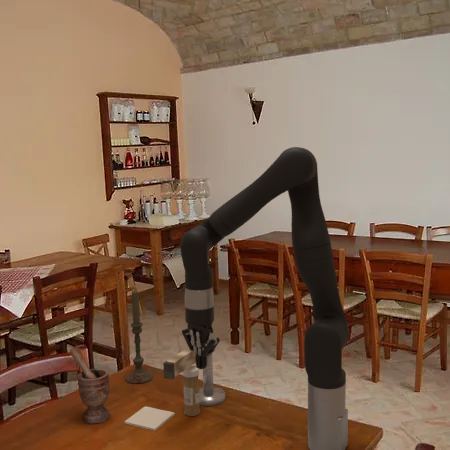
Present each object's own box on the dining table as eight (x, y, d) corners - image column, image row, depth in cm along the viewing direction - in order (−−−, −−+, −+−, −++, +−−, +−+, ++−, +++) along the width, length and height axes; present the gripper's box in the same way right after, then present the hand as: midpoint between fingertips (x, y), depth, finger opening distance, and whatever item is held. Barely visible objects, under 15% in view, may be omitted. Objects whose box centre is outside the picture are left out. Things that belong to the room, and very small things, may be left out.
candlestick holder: (120, 382, 186) (115, 292, 181) (132, 371, 194) (128, 285, 190) (146, 385, 183) (141, 294, 179) (157, 374, 192) (153, 286, 187)
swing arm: (204, 347, 173) (203, 334, 173) (217, 349, 171) (216, 336, 171) (161, 377, 152) (160, 362, 152) (175, 380, 150) (174, 364, 150)
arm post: (230, 394, 175) (229, 349, 173) (215, 408, 166) (214, 360, 164) (202, 389, 179) (200, 344, 177) (185, 402, 170) (184, 355, 168)
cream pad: (174, 414, 163) (174, 412, 163) (155, 430, 154) (154, 428, 154) (145, 408, 167) (145, 406, 167) (124, 423, 159) (124, 421, 158)
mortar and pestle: (65, 423, 159) (60, 355, 156) (77, 409, 168) (73, 343, 165) (104, 426, 157) (100, 356, 155) (115, 411, 166) (111, 345, 163)
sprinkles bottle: (203, 413, 163) (201, 368, 161) (189, 418, 161) (187, 372, 159) (194, 407, 167) (193, 363, 165) (181, 412, 164) (179, 367, 162)
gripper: (227, 306, 146) (228, 370, 149) (193, 296, 156) (195, 357, 158) (205, 312, 141) (207, 379, 144) (172, 302, 151) (174, 365, 153)
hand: (201, 367), depth 151 cm, fingers closed
